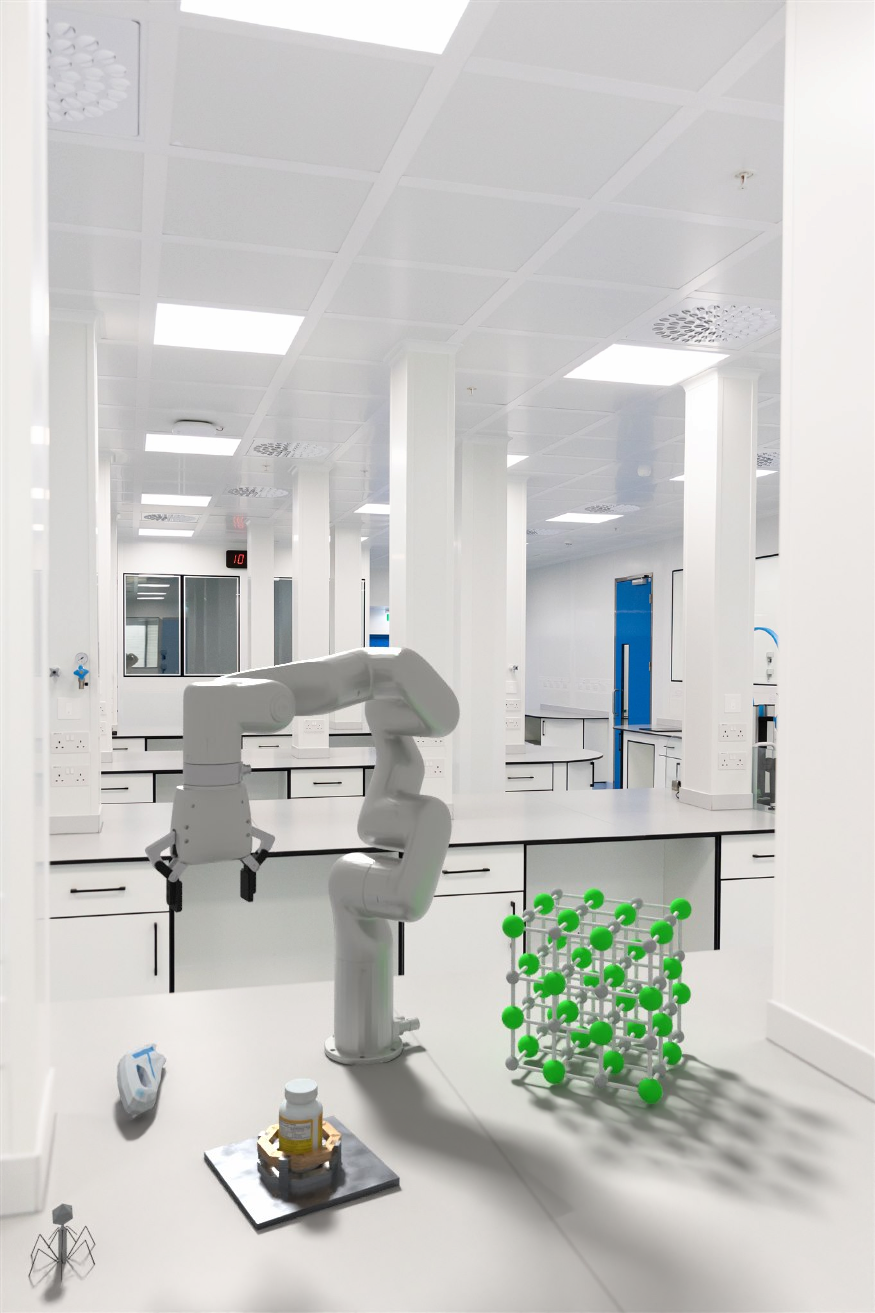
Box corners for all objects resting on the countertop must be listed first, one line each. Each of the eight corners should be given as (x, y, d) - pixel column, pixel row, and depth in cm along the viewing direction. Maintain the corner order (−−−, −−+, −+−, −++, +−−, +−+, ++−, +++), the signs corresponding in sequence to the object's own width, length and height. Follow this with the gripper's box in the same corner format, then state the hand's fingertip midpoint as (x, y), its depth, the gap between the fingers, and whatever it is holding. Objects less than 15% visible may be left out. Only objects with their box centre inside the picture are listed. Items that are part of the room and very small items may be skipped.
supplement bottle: (298, 1180, 116) (298, 1100, 116) (269, 1164, 120) (269, 1086, 119) (331, 1162, 120) (331, 1084, 120) (302, 1147, 124) (302, 1071, 124)
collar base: (333, 1123, 132) (333, 1092, 132) (399, 1185, 117) (399, 1151, 117) (204, 1159, 123) (204, 1126, 123) (257, 1233, 107) (257, 1195, 107)
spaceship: (118, 1080, 129) (96, 1108, 129) (158, 1109, 130) (136, 1137, 130) (137, 1024, 152) (118, 1048, 152) (171, 1049, 153) (152, 1073, 152)
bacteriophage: (23, 1299, 97) (23, 1231, 97) (29, 1252, 104) (28, 1189, 104) (97, 1284, 99) (97, 1218, 99) (98, 1239, 107) (98, 1177, 106)
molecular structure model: (692, 1044, 159) (693, 896, 159) (659, 1110, 136) (660, 938, 136) (550, 1019, 169) (551, 880, 169) (497, 1077, 147) (498, 916, 146)
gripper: (263, 768, 136) (263, 890, 137) (138, 776, 127) (138, 907, 128) (284, 774, 130) (284, 902, 130) (154, 783, 121) (154, 921, 121)
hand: (212, 904), depth 129 cm, fingers open, 9 cm apart
